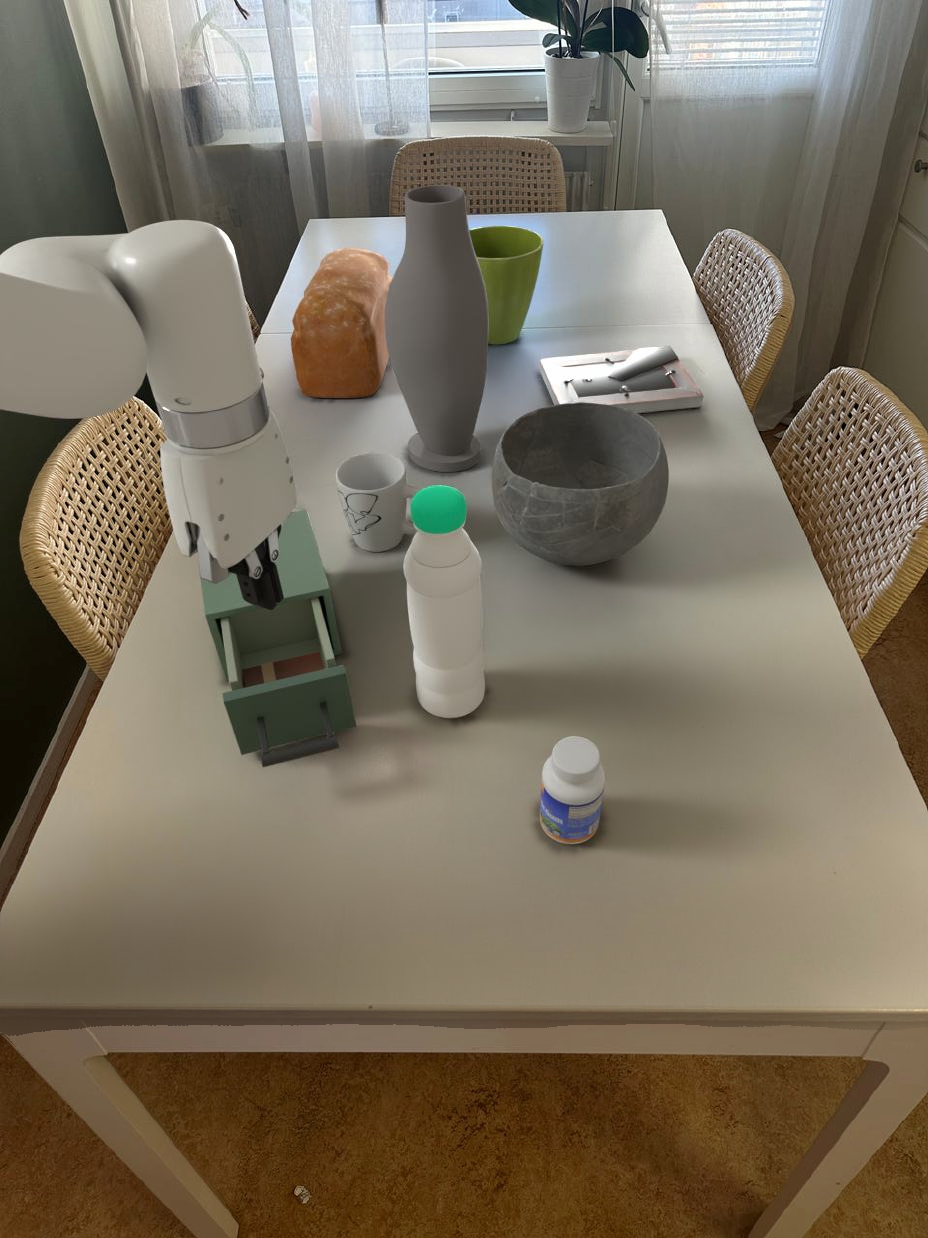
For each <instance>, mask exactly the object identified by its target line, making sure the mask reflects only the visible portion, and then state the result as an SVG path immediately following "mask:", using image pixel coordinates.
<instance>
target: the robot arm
mask: <svg viewBox="0 0 928 1238" xmlns="http://www.w3.org/2000/svg"><path fill="white" fill-rule="evenodd" d="M146 376H147V379H148V382H149V385H150V388H151V389H150V390H151V392H152V395H153V398H154V402H155V405H156V407H157V412H158V414H159V418H160V421H161V424H162V427H163V430H164V434H165V437H166V440H165V441H164V442H163V443H161V445H160V447H159V448H160V449H159V451H160V467H161V479H162V484H163V490H164V497H165V502H166V507H167V510H168V514H169V518H170V522H171V526H172V530H173V533H174V537H175V540H176V542H177V546H178V548H179V551H180V554H182V555H183V556H185V557H188V558H191V557H192V556H194V555H196V554H197V560H198V571H199V578H200V581H201V580H204V581H207V582H210V583H213V584H217V583H218V582H220V581H222V580H224V579H225V578H227V577H229V575H230V574H232V573H234V574H236V576H237V579H238V583H239V586H240V590H241V593H242V597H243V599H244V600H245V601H246V602H248V603H250V604H253V605H257V606H260V607H263V608H265V609H268V610H273V609H274V608H275V607H276V603H280V602H281V601H282V600H283V599H284V596H283V591H282V587H281V583H280V579H279V575H278V570H277V566H276V564H275V561H277V559H278V558H279V553H280V552H279V542H278V538H279V535H280V532H281V526H283V524H284V523H285V522H286V520H287V519H288V517H289V516H290V515H291V513H292V512H294V510H295V508H296V506H297V503H298V495H297V493H298V492H297V486H296V481H295V475H294V470H293V466H292V462H291V459H290V455H289V452H288V449H287V445H286V442H285V439H284V437H283V433H282V431H281V428H280V426H279V423H278V421H277V418H276V415H275V413H274V412H273V410H272V408H271V407H270V406H269V404H268V400H267V396H266V391H265V385H264V381H263V379H264V378H265V373H264V371H263V369H262V368H261V366H260V362H259V358H258V353H257V348H256V344H255V340H254V334H253V330H252V325H251V321H250V315H249V311H248V307H247V301H246V297H245V291H244V287H243V281H242V278H241V272H240V267H239V264H238V259H237V256H236V252H235V248H234V245H233V243H232V241H231V240H230V238H229V236H228V235H227V234H226V233H225V232H224V231H223V230H222V229H221V228H219V227H217V226H215V225H214V224H212V223H209V222H206V221H200V220H191V219H173V220H164V221H159V222H155V223H151V224H147V225H145V226H141V227H139V228H136V229H133V230H132V231H130V232H129V233H127V232H126V233H117V234H116V233H115V234H99V235H97V234H96V235H64V236H62V235H61V236H44V237H37V238H31V239H27V240H24V241H21V242H18V243H16V244H14V245H12V246H10V247H9V248H7V249H6V250H4V251H3V252H2V253H1V254H0V410H2V411H9V412H13V413H18V414H25V415H29V416H37V417H45V418H54V419H63V420H64V419H65V420H69V419H70V420H72V419H73V420H74V419H90V418H94V417H101V416H104V415H107V414H109V413H112V412H114V411H117V410H118V409H120V408H122V407H123V406H124V405H126V404H127V403H128V402H130V400H131V399H133V398H134V396H135V395H136V394H137V393H138V392H139V390H140V388H141V386H142V385H143V382H144V379H145V377H146Z"/></svg>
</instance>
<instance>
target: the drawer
mask: <svg viewBox="0 0 928 1238" xmlns="http://www.w3.org/2000/svg"><path fill="white" fill-rule="evenodd" d="M221 626H222V633H223V640H224V648H225V655H226V662H227V670H228V677H229V680H228V683H229V686H230V689H231V690H229V691H226V692H222V700H223V705H224V707H225V711H226V714H227V716H228V720H229V723H230V725H231V728H232V731H233V735H234V737H235V741H236V743H237V747H238V749H239V751H240V755H241V756H244V755H247V754H251V753H256V752H260V751H261V752H262V753H261V754H260V755H259V757H260V762H261V765H262V766H261V767H262V768H267V767H271V766H275V765H278V764H283V763H286V762H290V761H294V760H299V759H303V758H306V757H311V756H316V755H318V754H322V753H326V752H331V751H334V750H338V749H340V744H339V739H338V735H335V732H340V731H344V730H349V729H352V728H356V727H357V723H356V717H355V712H354V706H353V701H352V696H351V691H350V685H349V679H348V674H347V670H346V667H345V664H341V665H337V664H336V660H335V656H334V654H333V651H332V647H331V643H330V639H329V636H328V632H327V628H326V624H325V621H324V617H323V613H322V609H321V606H320V602H319V598H318V597H314V598H309V599H304V600H300V601H295V602H291V603H286V604H282V605H277V606H276V607H275V608H274V609H273V610H268V609H265V608H263V609H259V610H254V611H250V612H245V613H240V614H236V615H231V616H227V617H222V618H221ZM316 652H321V656H322V660H323V664H324V668H325V669H323V670H319V671H314V672H310V673H306V674H302V675H297V676H293V677H289V678H285V679H280V680H276V681H272V682H267V683H263V684H259V685H255V686H250V687H246V688H245V684H244V678H243V672H242V670H243V669H247V668H251V667H255V666H260V665H262V664H266V663H270V662H277V661H281V660H286V659H290V658H294V657H299V656H303V655H307V654H312V653H316ZM323 735H327V737H325V738H321V739H317V740H313V741H308V742H305V743H300V744H297V745H292V746H288V747H284V748H280V749H276V750H273V751H270V749H272V748H276V747H281V746H283V745H288V744H292V743H295V742H300V741H304V740H307V739H312V738H315V737H320V736H323Z"/></svg>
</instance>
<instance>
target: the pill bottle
mask: <svg viewBox="0 0 928 1238" xmlns="http://www.w3.org/2000/svg"><path fill="white" fill-rule="evenodd" d="M600 760H601V754H600V750H599V748H598V746H597V745H596V744H595V743H594V742H593V741H592V740H590V739H588V738H585V737H583V736H578V735H571V736H567V737H566V736H565V737H564V738H562V739H560V740H559V741H557V742H556V743H555V745H554V746H553V749H552V752H551V755H550V756H549V757H548V758H547V760H546V761H545V762H544V765H543V767H542V773H541V785H540V802H539V822H540V825H541V828H542V829H543V832H544V833H545V834H546V835H547V836H548V837H549V838H550V839H552V840H553V841H555V842H558V843H560V844H565V845H577V844H582V843H585V842H586V841H588V840H590V839H591V838H592V837H593V836H594V835H595V834H596V832H597V830H598V828H599V824H600V818H601V810H602V804H603V797H604V792H605V791H604V790H605V784H606V772H605V769H604V766H603V764H602V763H601V761H600Z"/></svg>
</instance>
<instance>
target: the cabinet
mask: <svg viewBox="0 0 928 1238" xmlns="http://www.w3.org/2000/svg"><path fill="white" fill-rule="evenodd" d="M278 542H279V552H280V553H279V558H278V559H277V561H275V564H276V566H277V570H278V575H279V579H280V583H281V587H282V591H283V596H284V599H283V600H282V601H281V602H280V603H276V606H277V605H282V604H286V603H291V602H295V601H300V600H304V599H309V598H314V597H318V598H319V602H320V606H321V609H322V613H323V617H324V621H325V624H326V628H327V632H328V636H329V639H330V643H331V647H332V651H333V654H334V657H335V656H338V655H339V656H340V655H342V652H343V651H342V646H341V642H340V636H339V631H338V626H337V621H336V615H335V609H334V604H333V599H332V593H331V588H330V584H329V581H328V577H327V574H326V570H325V567H324V563H323V560H322V557H321V552H320V549H319V547H318V543H317V539H316V535H315V532H314V529H313V525H312V522H311V517H310V515H309V511H308V509H307V508H305V509H301V510H296V511H292V513H291V515H290V516H289V517H288V519H287V520H286V522H285V523H284V524H283V526H281V532H280V535H279V538H278ZM200 584H201V593H202V600H203V609H204V617H205V620H206V624H207V626H208V628H209V632H210V635H211V638H212V641H213V644H214V646H215V651H216V653H217V656H218V660H219V662H220V666H221V668H222V669H221V670H222V671H223V674H224V678H225V680H226V681H229V677H228V670H227V662H226V655H225V648H224V640H223V633H222V626H221V618H222V617H227V616H231V615H236V614H240V613H245V612H250V611H254V610H259V609H263V607H260V606H257V605H253V604H250V603H248V602H246V601H245V600H244V599H243V597H242V593H241V590H240V586H239V583H238V579H237V576H236V574H234V573H232V574H230V575H229V577H227V578H225V579H224V580H222V581H220V582H218V583H217V584H213V583H210V582H207V581H204V580H201V579H200Z"/></svg>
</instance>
